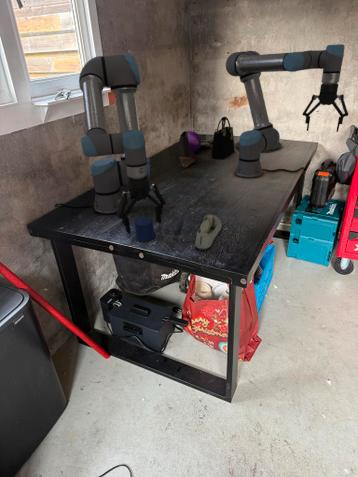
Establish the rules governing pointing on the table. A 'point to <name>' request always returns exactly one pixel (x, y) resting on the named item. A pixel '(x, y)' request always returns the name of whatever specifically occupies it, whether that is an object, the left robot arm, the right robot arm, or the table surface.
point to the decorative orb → (193, 141)
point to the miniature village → (265, 151)
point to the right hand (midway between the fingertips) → (322, 130)
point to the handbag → (223, 140)
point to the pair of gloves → (207, 141)
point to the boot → (186, 151)
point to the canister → (144, 229)
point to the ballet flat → (207, 232)
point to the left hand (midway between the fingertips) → (144, 227)
